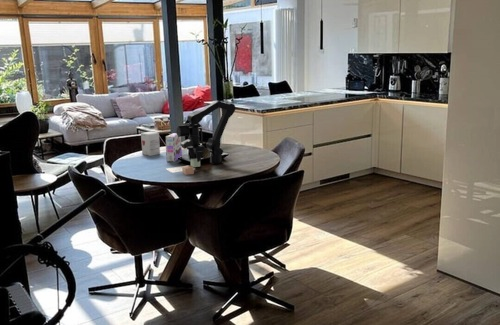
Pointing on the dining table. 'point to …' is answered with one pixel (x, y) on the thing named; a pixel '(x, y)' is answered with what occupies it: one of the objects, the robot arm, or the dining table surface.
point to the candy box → (173, 147)
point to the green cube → (195, 162)
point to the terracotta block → (188, 170)
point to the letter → (175, 169)
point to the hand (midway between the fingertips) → (195, 160)
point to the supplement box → (150, 143)
